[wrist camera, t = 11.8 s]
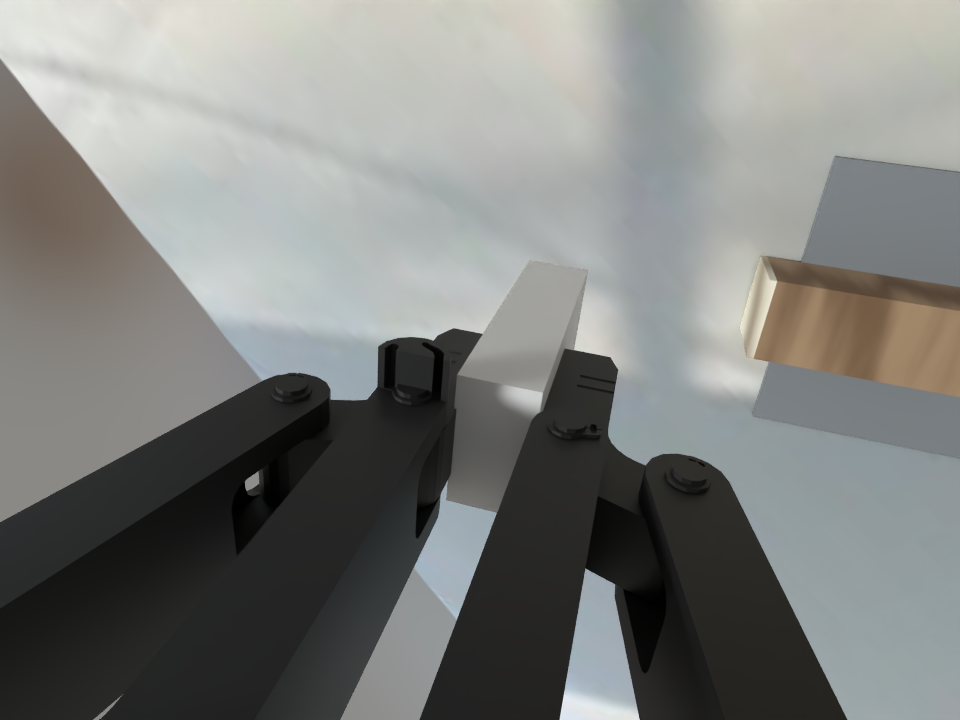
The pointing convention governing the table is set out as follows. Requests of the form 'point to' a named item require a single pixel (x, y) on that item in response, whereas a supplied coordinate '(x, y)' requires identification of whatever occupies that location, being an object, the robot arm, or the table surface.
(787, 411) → the mat
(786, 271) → the walnut block
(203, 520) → the robot arm
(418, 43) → the table surface
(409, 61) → the table surface
